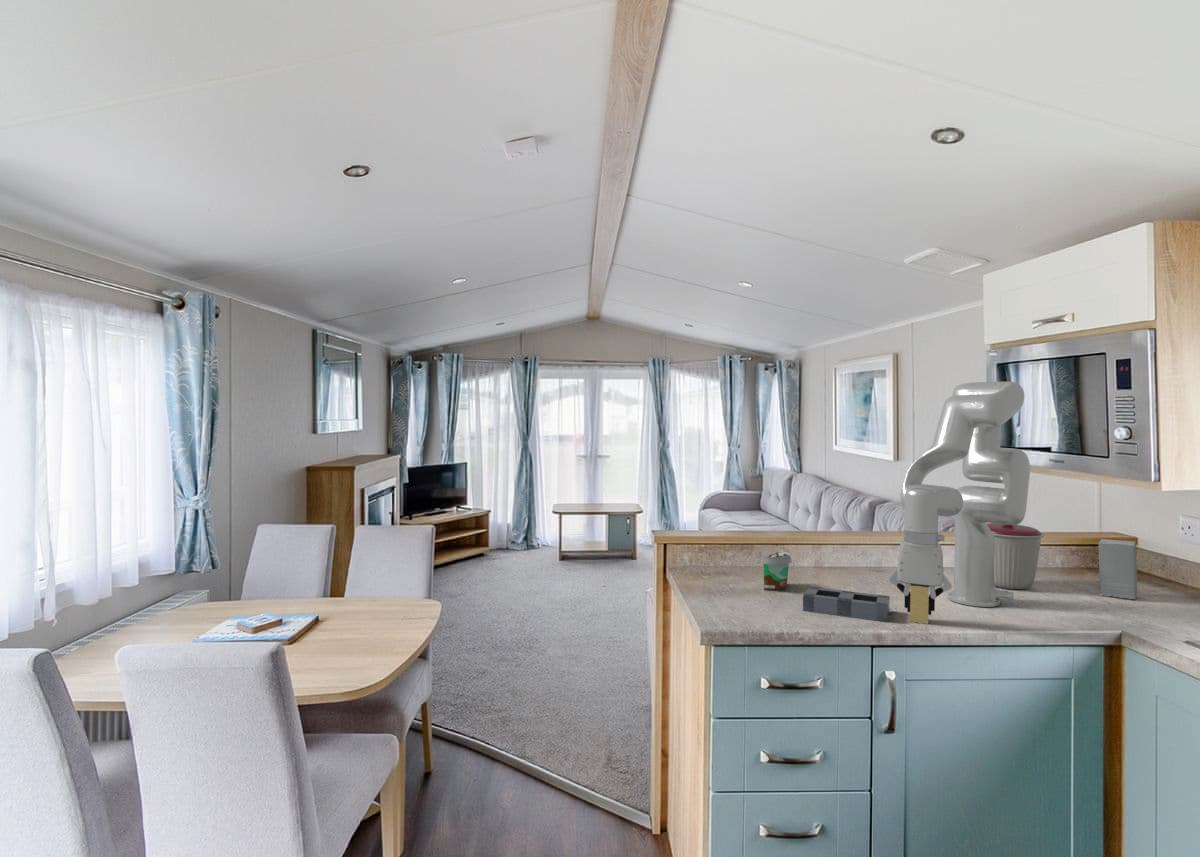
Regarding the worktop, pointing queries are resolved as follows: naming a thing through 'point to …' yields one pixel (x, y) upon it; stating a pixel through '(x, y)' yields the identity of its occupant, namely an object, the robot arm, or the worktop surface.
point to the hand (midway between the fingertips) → (919, 611)
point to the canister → (1015, 555)
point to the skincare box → (1118, 568)
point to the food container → (776, 571)
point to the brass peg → (919, 603)
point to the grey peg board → (847, 603)
